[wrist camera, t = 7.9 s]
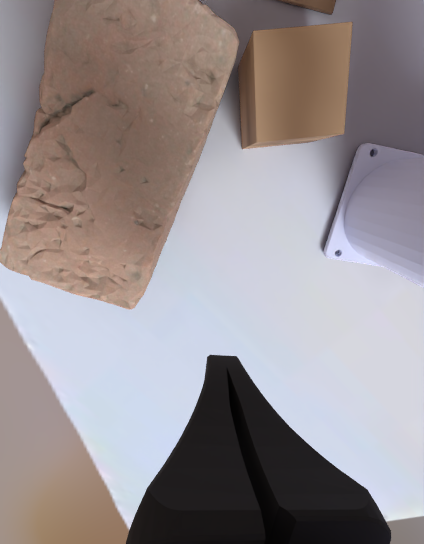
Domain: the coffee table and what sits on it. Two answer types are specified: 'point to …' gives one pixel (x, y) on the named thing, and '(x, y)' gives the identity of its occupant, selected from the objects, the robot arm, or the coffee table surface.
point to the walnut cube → (294, 84)
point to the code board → (314, 5)
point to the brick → (115, 141)
